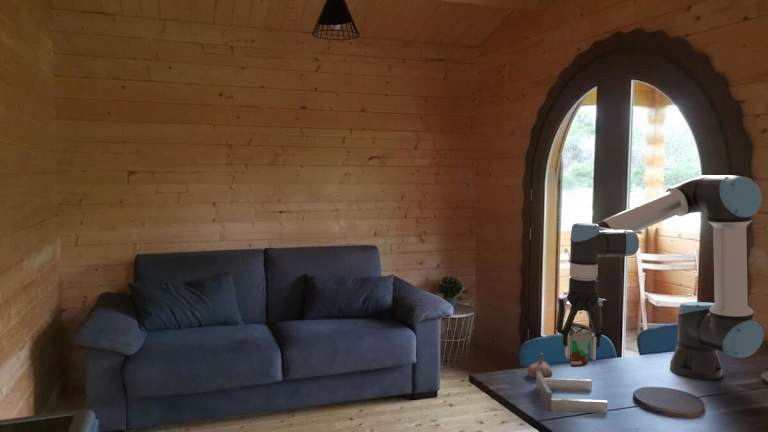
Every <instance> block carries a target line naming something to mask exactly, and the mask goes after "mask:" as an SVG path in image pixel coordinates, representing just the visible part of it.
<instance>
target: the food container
mask: <svg viewBox="0 0 768 432" xmlns="http://www.w3.org/2000/svg"><path fill="white" fill-rule="evenodd" d="M591 328H592V327H589V326H588V325H585V324H582V323H577V322H576V323H575V322H573V323H572V326H571V329H570V331H569V335H570V336H571V347H570V359H568V362H569V364H570V367H571V368H580V367H581V368H582V367H586V366H587V365H588V362H589V355H590V354H589V352H590V347H591V339H592V338H593V334H594V333H593V330H592V329H591Z"/></svg>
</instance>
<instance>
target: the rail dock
mask: <svg viewBox="0 0 768 432" xmlns="http://www.w3.org/2000/svg"><path fill="white" fill-rule="evenodd" d="M592 387H593V381H592V379H590V378H589V379H588V378H587V379H585V378H584V379H583V378H561V377H560V378H558V377H550V378H544V377H543V375H542V373H541V371H536V378H535V388H536V390H537V392H538V394H539V397H540V399H541V401H542V403H543V405H544V409H545V410H546V411H552V412H553V411H555V412H574V413H575V412H577V413H578V412H580V413H598V414H599V413H600V414H601V413H602V414H603V413H604V414H607V413H608V403H609V402H608V401H607V400H605V399H604V400H603V399H582V398H581V399H580V398H579V399H576V398H557V397H556V398H554V397H553V396H552V395H553V394H552V390H563V391H566V390H567V391H587V390H589V392H591V391H590V390H593V389H592Z"/></svg>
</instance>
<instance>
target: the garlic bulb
mask: <svg viewBox="0 0 768 432" xmlns="http://www.w3.org/2000/svg"><path fill="white" fill-rule="evenodd" d="M543 359H544V353H542V352H540V353H539V359H538V361H536V362H534V363H532V364H530V365H529V366H528V367H527V374H528V375H529V376H530V377H531V378H533V379H536V371H541V373H542V375H543V377H544V378H552V376H553V370H552V368H551V365H549V363H547V362H546V361H543Z"/></svg>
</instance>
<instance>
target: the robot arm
mask: <svg viewBox="0 0 768 432" xmlns="http://www.w3.org/2000/svg"><path fill="white" fill-rule="evenodd" d="M762 197H763V196H762V192H761V189H760V187H759V186H758V184H757V182H755V181H754V180H753V179H751V178H749V177H747V176H741V175H740V176H739V175H733V174H732V175H730V174H729V175H728V174H727V175H722V174H721V175H711V174H709V175H708V174H707V175H700V176H697V177H694V178H693V177H692V178H691V179H688V180H686V181H683V182H680V183H678V184H676V185H674V186H671V187H669V188H667V189H666V190H665V193H663V194H660V195H659V196H656V197H653V198H651V199H649V200H646V201H644V202H642V203H640V204H637V205H635V206H632V207H630V208H628V209H626V210H625V209H624V210H622V211H620V212H618V213H616V214H614V215H611V216H609V217H607V218H604V219H602V220H599V221H597V222H594V223H589V222H588V223H587V222H586V223H585V222H578V223H574V224H572V226H571V232H570V237H569V238H570V239H569V240H570V252H569V276H570V278H569V281H568V284H569V285H568V294H567V295H566V296H565V297H560V296H559V297H558V298H557V303H558V309H557V318H556V324H555V326H556V327H555V330H556V332H557V333H558V334H561V335H562V337H561V338H562V339H561V340H562V342H561V344H562V346H563V347H565V350H564V351H565V353H564V354H565V355H564V356H565V357H566V359H570V347H571V336H570V335H569V331H570V329H571V326H572V323H574V320H575V318H576V316H577V314H578V312H581V311H582V312H583V311H585V312H587V314H588V319H589V321H590V325H591V328H592V332H593V333H592V334H593V338H592V339H590V354H589V355H590V356H589V357H590V358H591V359H592V360H594V361H595V360H597V359H596V358H597V355H596V354H597V353H596V352H597V348H600V343H601V337H602V336H603V335H604V336H605V335H607V334H608V324H607V307H608V304H609V301H608V300H607V299H605V298H600V297H599V296H598V280H597V278H598V275H599V273H598V271H599V270H598V269H599V258H605V257H606V258H608V257H622V258H625V257H631V256H632V257H633V256H634V255H636V254H637V252H638V251H639V248H640V239H639V237H638V235H637V233H638V232H639V231H642V230H645V229H647V228H649V227H652V226H654V225H656V224H658V223H661V222H664V221H666V220H669V219H670V218H673V217H675V216H678V217H684V216H686V215H687V214H692V213H706V216H707V217H706V218H707V220H706V221H707V223H708V224H710V225H711V227H712V231H713V232H712V235H713V236H712V237H713V239H712V240H713V283H714V284H713V285H714V286H713V287H714V288H713V289H714V302H706V301H705V302H704V301H703V302H702V301H690V302H689V301H686V302H683V303H681V304H679V306H678V307H679V308H678V314H677V334H676V335H677V341H676V347H675V350H674V352H673V355H672V357H671V360H670V363H669V369H670V370H671V371H672V372H673V373H674V374H677V375H680V376H683V377H685V378H686V377H687V378H691V379H696V380H706V381H707V380H709V381H711V380H718V379H721V378H722V376H723V367H722V365H721V360H720V357H719V354H718V351H720V352H722V353H724V354H726V355H728V356H734V357H735V358H747V357H750V356H752V355H753V354H755V353H756V352H757V350H758V349H759V348H760V347H761V345H762V343H763V341H764V330H763V327H762V326H761V325H760V323H758V322H757V321H755V319H754V318H755V317H754V310H753V309H752V308H751V307H750V306H749V305H748V263H747V261H748V258H747V256H748V254H747V252H748V250H747V226H749V224H751V222H753V216H754V215H755V214H756V213H758V212H759V209H760V208H761V205H762V201H763V198H762ZM568 302H569V304H570V305H571V306H570V309H569V313H568V315H567V318H566V321H565V323H564V320H565V309H566V307H565V306H567V303H568ZM596 304H598V307H599V325H600V326H599V325H598V322H597V319H596V315H595V311H594V306H595V305H596ZM563 324H564V325H563ZM599 328H600V329H599Z"/></svg>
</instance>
